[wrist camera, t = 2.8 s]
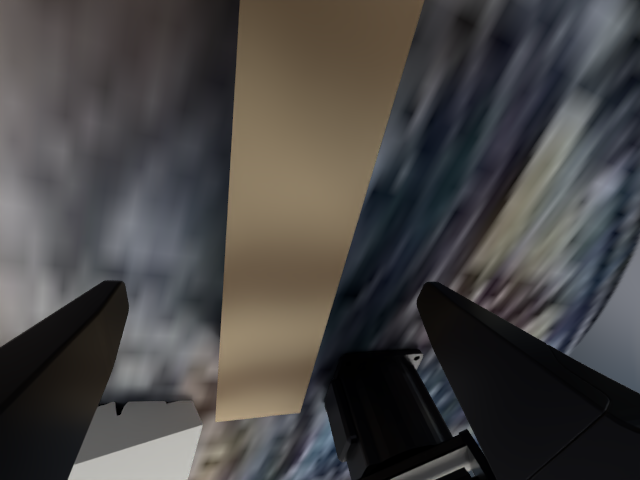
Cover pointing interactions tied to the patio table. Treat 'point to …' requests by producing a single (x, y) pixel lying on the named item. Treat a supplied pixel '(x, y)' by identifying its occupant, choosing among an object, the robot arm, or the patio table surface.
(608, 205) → the patio table surface
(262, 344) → the oak bar
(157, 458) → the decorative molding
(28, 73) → the patio table surface
